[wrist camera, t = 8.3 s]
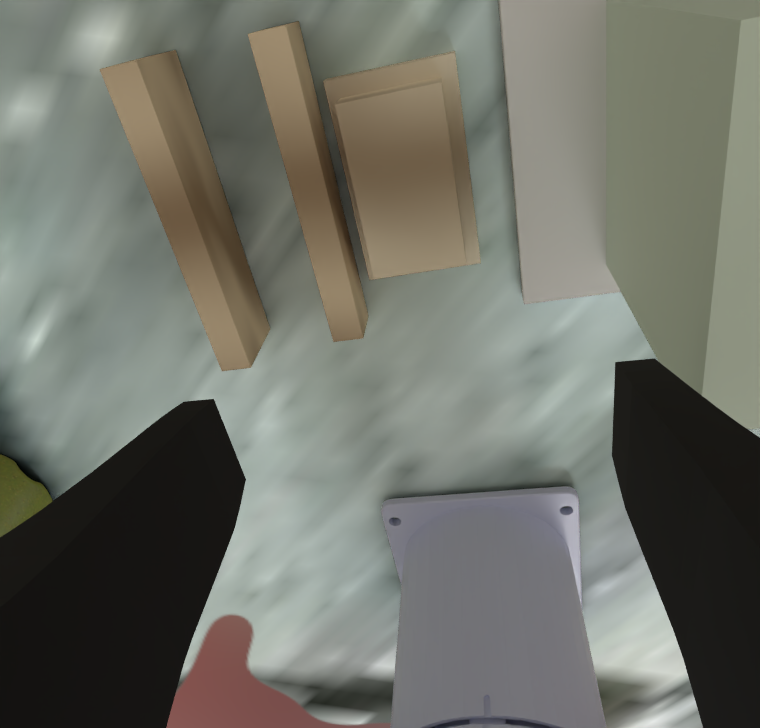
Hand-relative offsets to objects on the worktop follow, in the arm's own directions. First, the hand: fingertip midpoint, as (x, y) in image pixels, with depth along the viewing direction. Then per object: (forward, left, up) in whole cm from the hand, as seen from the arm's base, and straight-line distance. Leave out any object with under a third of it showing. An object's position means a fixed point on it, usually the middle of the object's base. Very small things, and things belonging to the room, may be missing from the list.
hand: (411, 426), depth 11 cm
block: (+2, -6, -9) cm, 11 cm away
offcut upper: (+2, 0, -9) cm, 9 cm away
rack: (+2, +5, -10) cm, 11 cm away
